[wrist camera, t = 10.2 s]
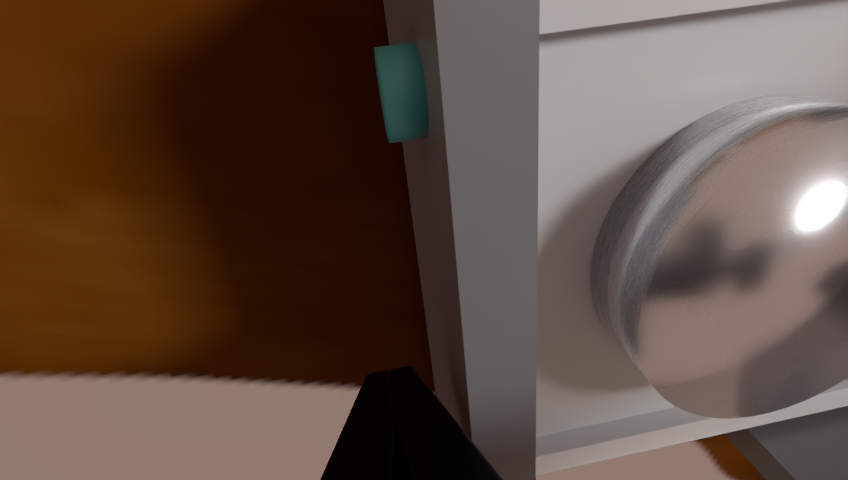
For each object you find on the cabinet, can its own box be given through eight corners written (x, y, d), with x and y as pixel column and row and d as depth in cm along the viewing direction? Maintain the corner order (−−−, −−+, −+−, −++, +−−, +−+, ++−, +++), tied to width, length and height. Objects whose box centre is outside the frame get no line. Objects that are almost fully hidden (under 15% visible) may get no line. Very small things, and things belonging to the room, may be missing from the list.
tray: (1004, -159, 10) (1680, -316, 5) (801, 380, 17) (990, 536, 12) (342, -89, 8) (349, -203, 4) (429, 461, 15) (470, 672, 11)
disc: (619, 100, 9) (686, 124, 7) (922, 86, 10) (1046, 103, 8) (572, 375, 12) (611, 438, 10) (806, 344, 13) (878, 397, 11)
